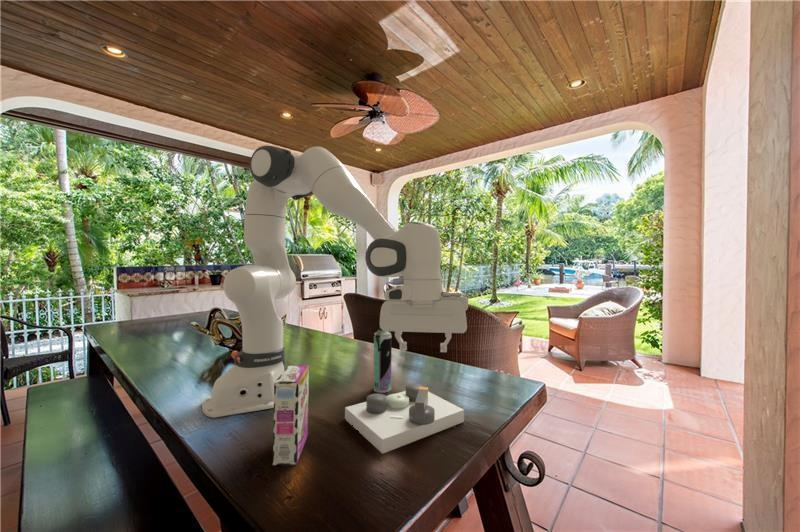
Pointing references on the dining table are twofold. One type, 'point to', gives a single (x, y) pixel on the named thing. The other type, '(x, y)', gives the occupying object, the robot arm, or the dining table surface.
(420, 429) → the base
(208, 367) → the dining table surface
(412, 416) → the wing knob
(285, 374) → the candy bar box
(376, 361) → the spray can
